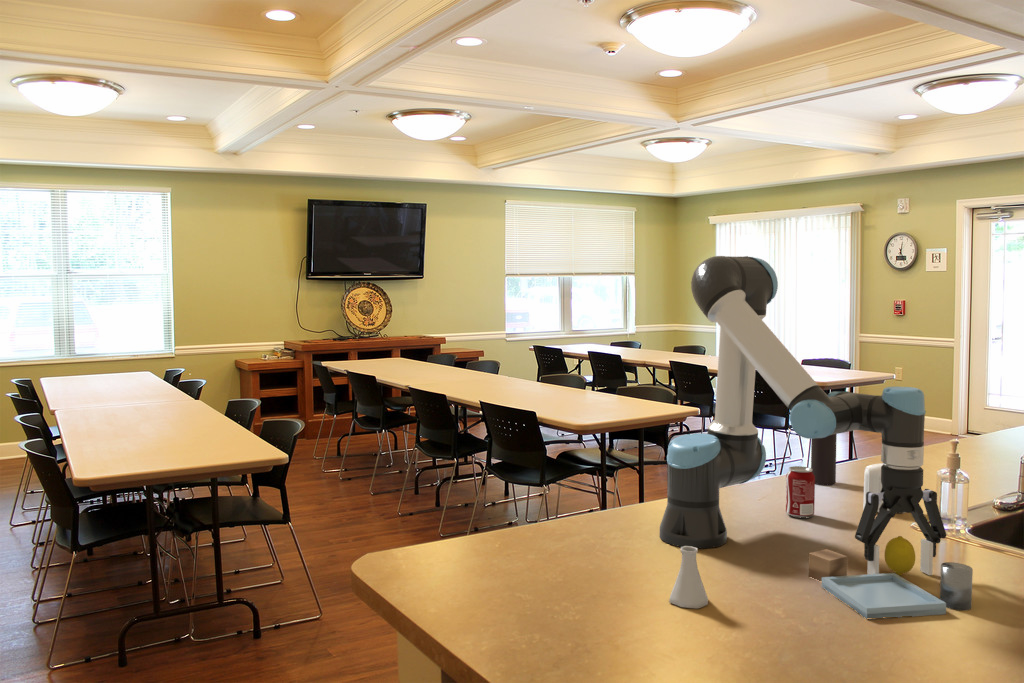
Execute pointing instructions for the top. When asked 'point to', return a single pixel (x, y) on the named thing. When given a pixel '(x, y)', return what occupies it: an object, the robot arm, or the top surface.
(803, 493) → the soda can
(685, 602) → the flask
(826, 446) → the bottle
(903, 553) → the lemon
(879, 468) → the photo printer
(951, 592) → the grey tin
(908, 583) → the dish
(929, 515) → the robot arm
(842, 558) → the walnut block
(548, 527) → the top surface
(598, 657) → the top surface
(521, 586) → the top surface
